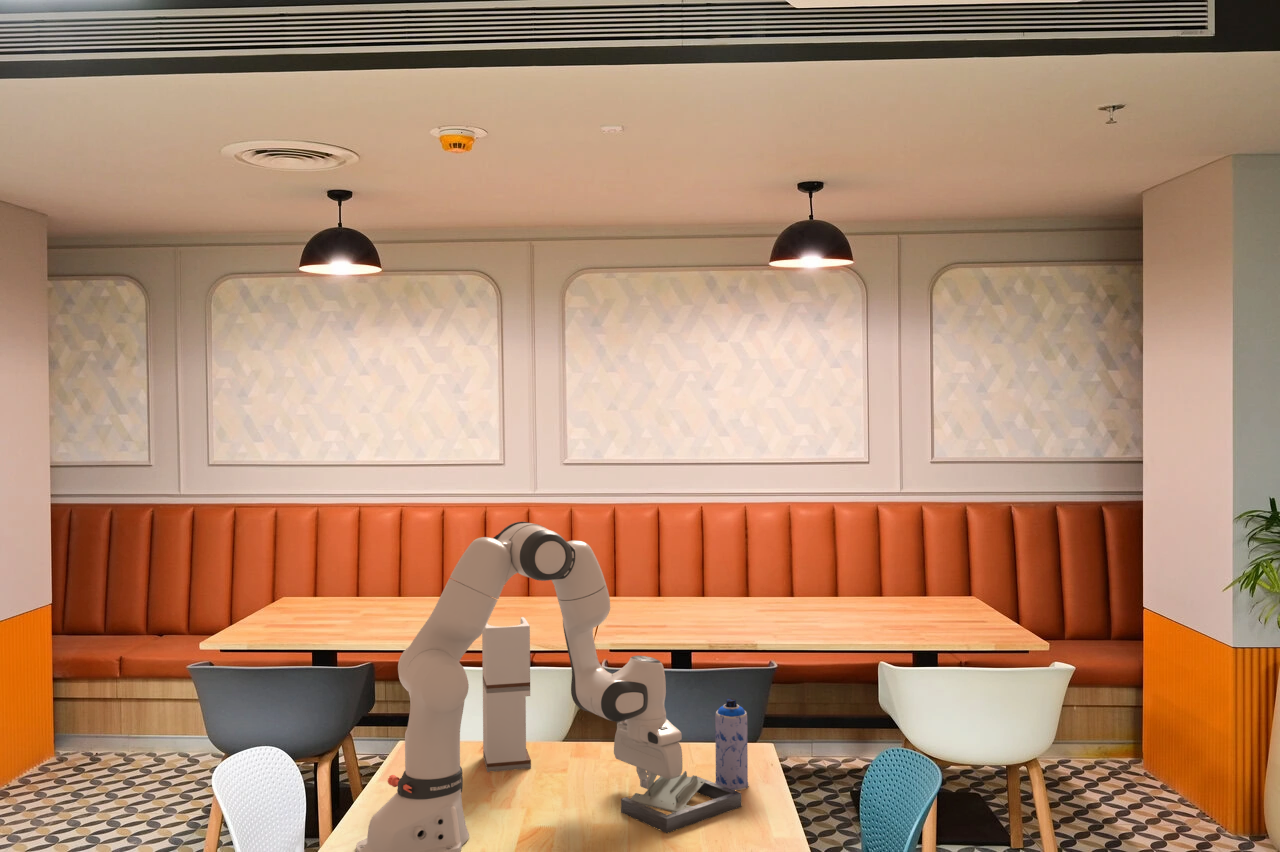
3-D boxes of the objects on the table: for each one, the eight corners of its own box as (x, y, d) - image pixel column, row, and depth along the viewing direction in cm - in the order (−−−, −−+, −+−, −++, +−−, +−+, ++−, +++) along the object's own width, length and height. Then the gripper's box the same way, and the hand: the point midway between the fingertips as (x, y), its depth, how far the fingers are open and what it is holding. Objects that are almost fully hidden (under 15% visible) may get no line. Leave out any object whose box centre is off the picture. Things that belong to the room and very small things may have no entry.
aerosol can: (755, 785, 243) (755, 699, 243) (731, 793, 238) (731, 706, 238) (731, 776, 250) (731, 693, 249) (707, 784, 245) (707, 699, 244)
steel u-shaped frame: (666, 833, 216) (666, 818, 216) (621, 812, 228) (621, 798, 228) (741, 806, 230) (741, 793, 230) (695, 788, 242) (695, 775, 242)
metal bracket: (658, 761, 244) (713, 773, 236) (662, 782, 246) (717, 795, 237) (624, 796, 233) (681, 810, 224) (629, 819, 234) (686, 833, 226)
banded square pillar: (530, 768, 256) (529, 625, 256) (487, 772, 254) (485, 628, 254) (525, 753, 268) (524, 617, 267) (483, 756, 265) (482, 619, 265)
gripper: (607, 720, 244) (607, 779, 244) (665, 740, 228) (666, 803, 228) (628, 714, 248) (628, 772, 248) (686, 734, 232) (687, 796, 232)
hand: (647, 787), depth 238 cm, fingers closed
